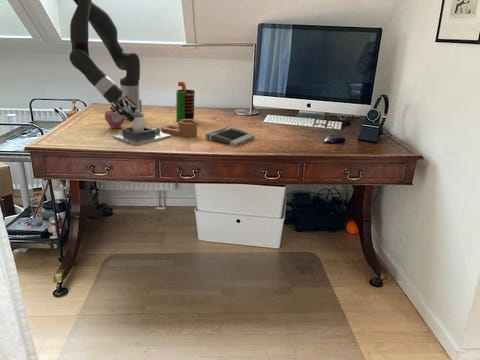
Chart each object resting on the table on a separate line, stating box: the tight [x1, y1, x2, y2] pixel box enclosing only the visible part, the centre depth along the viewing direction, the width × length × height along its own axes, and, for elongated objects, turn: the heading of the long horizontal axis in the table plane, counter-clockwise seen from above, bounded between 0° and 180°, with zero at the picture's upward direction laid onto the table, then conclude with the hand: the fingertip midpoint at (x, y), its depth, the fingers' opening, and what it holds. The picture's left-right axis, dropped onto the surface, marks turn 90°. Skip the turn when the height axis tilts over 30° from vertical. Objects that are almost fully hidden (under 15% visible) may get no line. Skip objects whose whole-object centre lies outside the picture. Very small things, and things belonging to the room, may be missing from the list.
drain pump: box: [131, 110, 145, 133], centre depth 171 cm, size 5×5×12 cm
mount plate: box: [112, 126, 172, 147], centre depth 174 cm, size 20×16×4 cm
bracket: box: [160, 119, 198, 139], centre depth 181 cm, size 18×8×7 cm, turn 66°
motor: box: [175, 81, 195, 123], centre depth 202 cm, size 10×9×20 cm
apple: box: [104, 106, 126, 129], centre depth 185 cm, size 10×9×10 cm
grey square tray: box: [204, 125, 255, 147], centre depth 179 cm, size 17×5×16 cm
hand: (136, 117), depth 170 cm, fingers open, 8 cm apart
